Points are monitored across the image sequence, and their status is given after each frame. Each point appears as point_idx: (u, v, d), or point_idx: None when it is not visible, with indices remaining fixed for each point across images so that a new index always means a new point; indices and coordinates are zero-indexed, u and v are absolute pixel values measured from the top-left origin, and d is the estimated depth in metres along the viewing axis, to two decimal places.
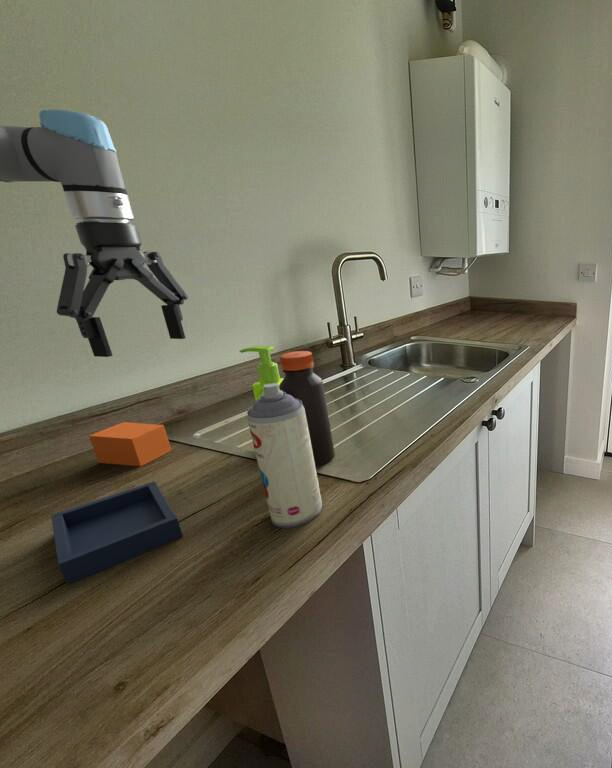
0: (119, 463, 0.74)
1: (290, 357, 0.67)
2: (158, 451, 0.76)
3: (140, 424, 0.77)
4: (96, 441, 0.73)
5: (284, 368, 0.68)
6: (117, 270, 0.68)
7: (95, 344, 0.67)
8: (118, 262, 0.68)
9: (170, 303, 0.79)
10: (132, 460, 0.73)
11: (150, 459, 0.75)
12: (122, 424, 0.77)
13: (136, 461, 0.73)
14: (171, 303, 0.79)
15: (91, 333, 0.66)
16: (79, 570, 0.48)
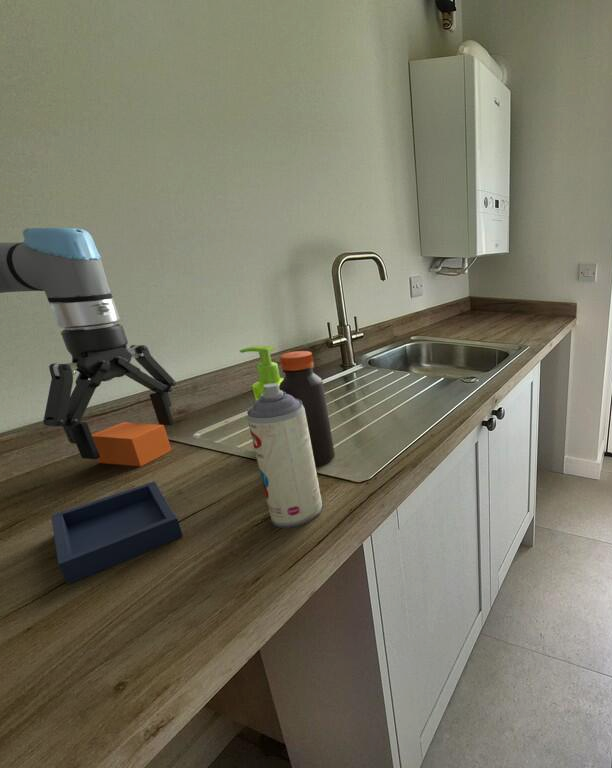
0: (119, 463, 0.74)
1: (290, 357, 0.67)
2: (158, 451, 0.76)
3: (140, 424, 0.77)
4: (96, 441, 0.73)
5: (284, 368, 0.68)
6: (103, 373, 0.69)
7: (82, 447, 0.68)
8: (104, 364, 0.69)
9: (158, 391, 0.80)
10: (132, 460, 0.73)
11: (150, 459, 0.75)
12: (122, 424, 0.77)
13: (136, 461, 0.73)
14: (159, 391, 0.80)
15: (78, 439, 0.67)
16: (79, 570, 0.48)
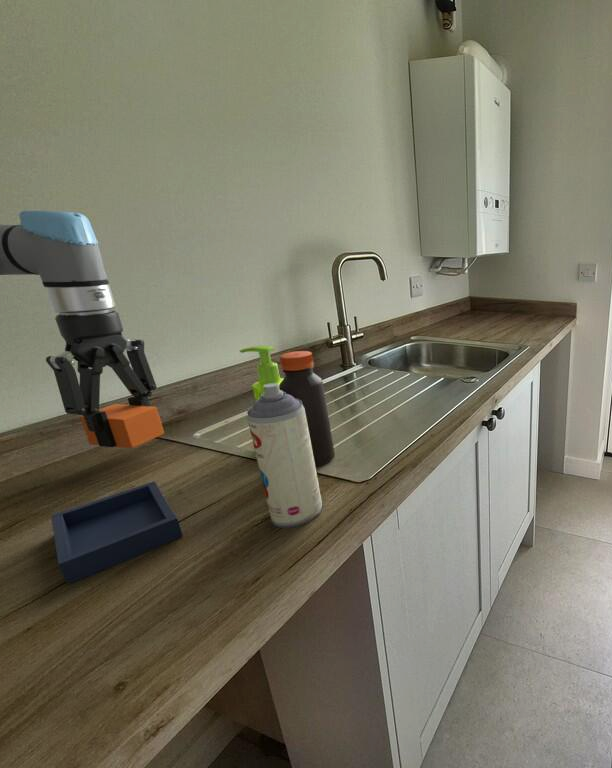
0: None
1: (290, 357, 0.67)
2: (150, 433, 0.75)
3: (132, 406, 0.76)
4: None
5: (284, 368, 0.68)
6: (101, 359, 0.69)
7: (100, 435, 0.71)
8: (98, 352, 0.68)
9: (137, 395, 0.76)
10: (124, 441, 0.72)
11: (142, 441, 0.74)
12: (114, 405, 0.76)
13: (128, 442, 0.72)
14: (137, 394, 0.76)
15: (97, 427, 0.70)
16: (79, 570, 0.48)
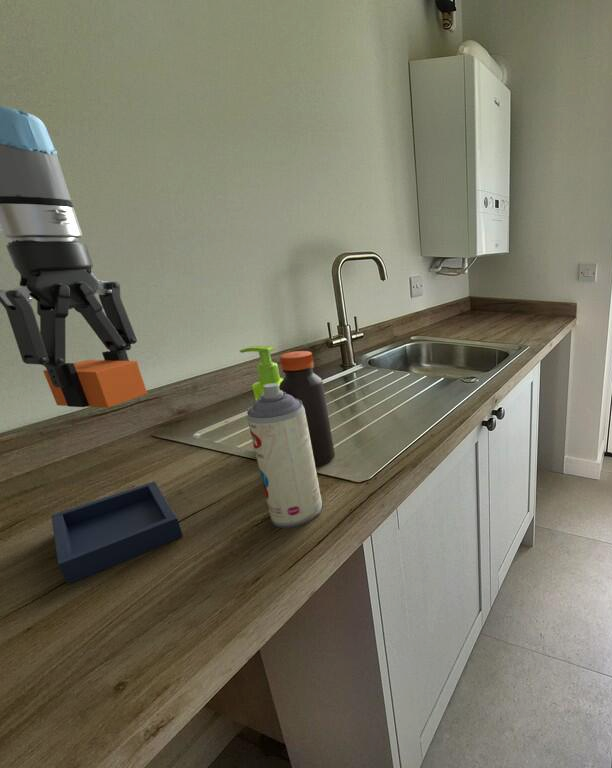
0: None
1: (290, 357, 0.67)
2: (130, 392, 0.63)
3: (108, 361, 0.64)
4: None
5: (284, 368, 0.68)
6: (66, 299, 0.57)
7: (69, 393, 0.59)
8: (62, 289, 0.56)
9: (114, 349, 0.65)
10: (97, 400, 0.60)
11: (120, 400, 0.62)
12: (87, 361, 0.64)
13: (102, 401, 0.60)
14: (114, 348, 0.64)
15: (64, 382, 0.58)
16: (79, 570, 0.48)
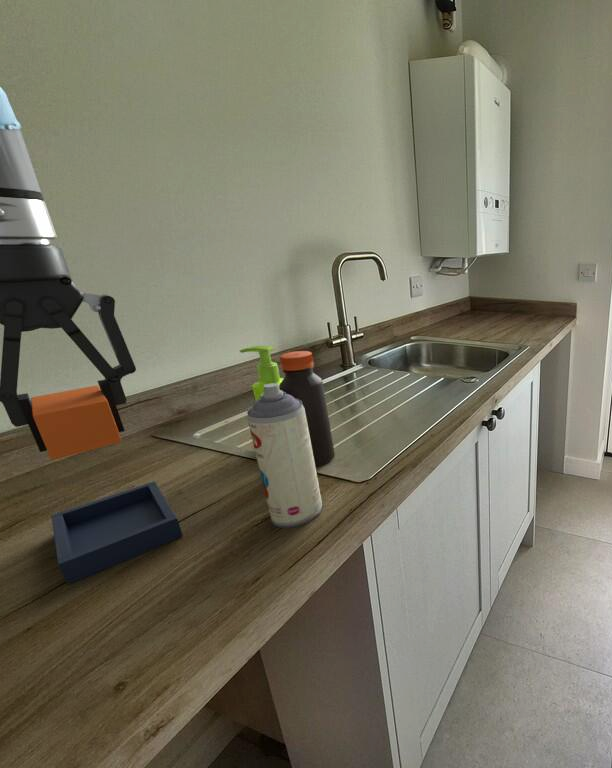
0: None
1: (290, 357, 0.67)
2: (91, 440, 0.48)
3: (96, 393, 0.51)
4: None
5: (284, 368, 0.68)
6: (18, 318, 0.44)
7: None
8: (10, 306, 0.43)
9: (105, 379, 0.52)
10: None
11: (74, 451, 0.48)
12: (90, 387, 0.53)
13: (47, 450, 0.46)
14: None
15: (16, 420, 0.46)
16: (79, 570, 0.48)
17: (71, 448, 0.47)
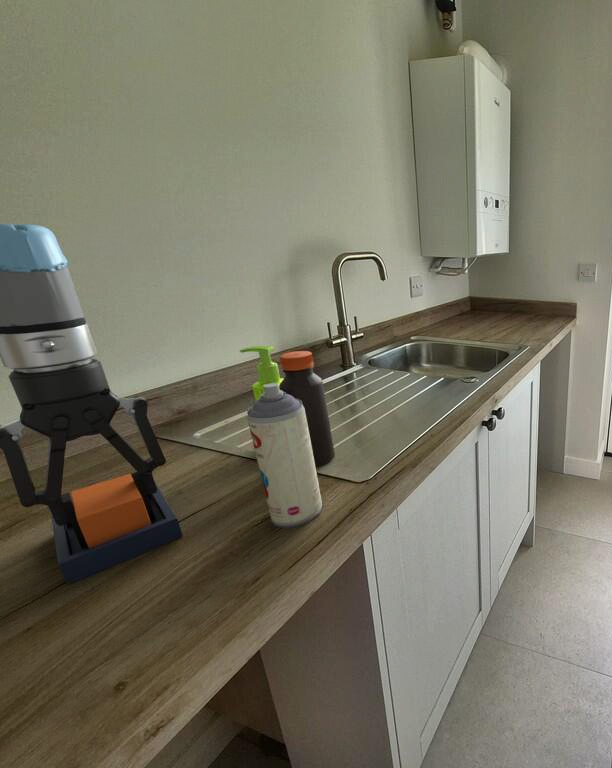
0: None
1: (290, 357, 0.67)
2: None
3: (130, 486, 0.56)
4: None
5: (284, 368, 0.68)
6: (64, 431, 0.49)
7: None
8: (57, 422, 0.48)
9: (138, 472, 0.56)
10: None
11: None
12: (123, 477, 0.58)
13: (89, 547, 0.51)
14: (137, 471, 0.56)
15: (60, 520, 0.51)
16: (79, 570, 0.48)
17: None
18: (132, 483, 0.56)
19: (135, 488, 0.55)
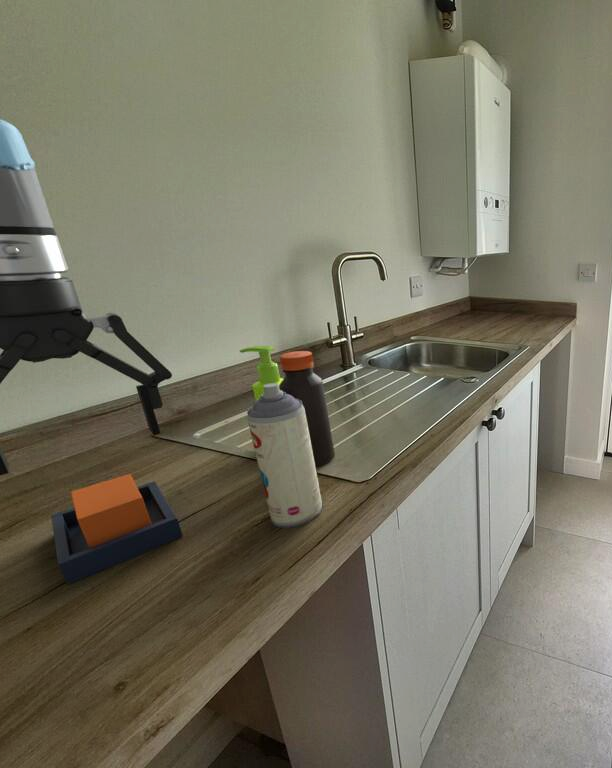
0: None
1: (290, 357, 0.67)
2: None
3: (130, 486, 0.56)
4: None
5: (284, 368, 0.68)
6: (23, 350, 0.45)
7: None
8: (23, 338, 0.45)
9: (144, 384, 0.55)
10: None
11: None
12: (123, 477, 0.58)
13: (89, 547, 0.51)
14: (144, 385, 0.54)
15: None
16: (79, 570, 0.48)
17: None
18: (132, 483, 0.56)
19: (135, 488, 0.55)
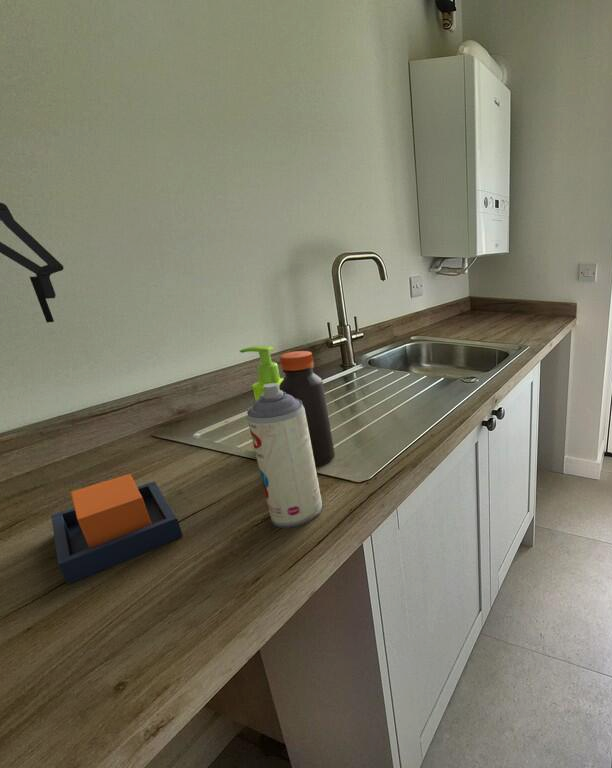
0: None
1: (290, 357, 0.67)
2: None
3: (130, 486, 0.56)
4: None
5: (284, 368, 0.68)
6: None
7: None
8: None
9: (36, 274, 0.60)
10: None
11: None
12: (123, 477, 0.58)
13: (89, 547, 0.51)
14: (36, 274, 0.60)
15: None
16: (79, 570, 0.48)
17: None
18: (132, 483, 0.56)
19: (135, 488, 0.55)
